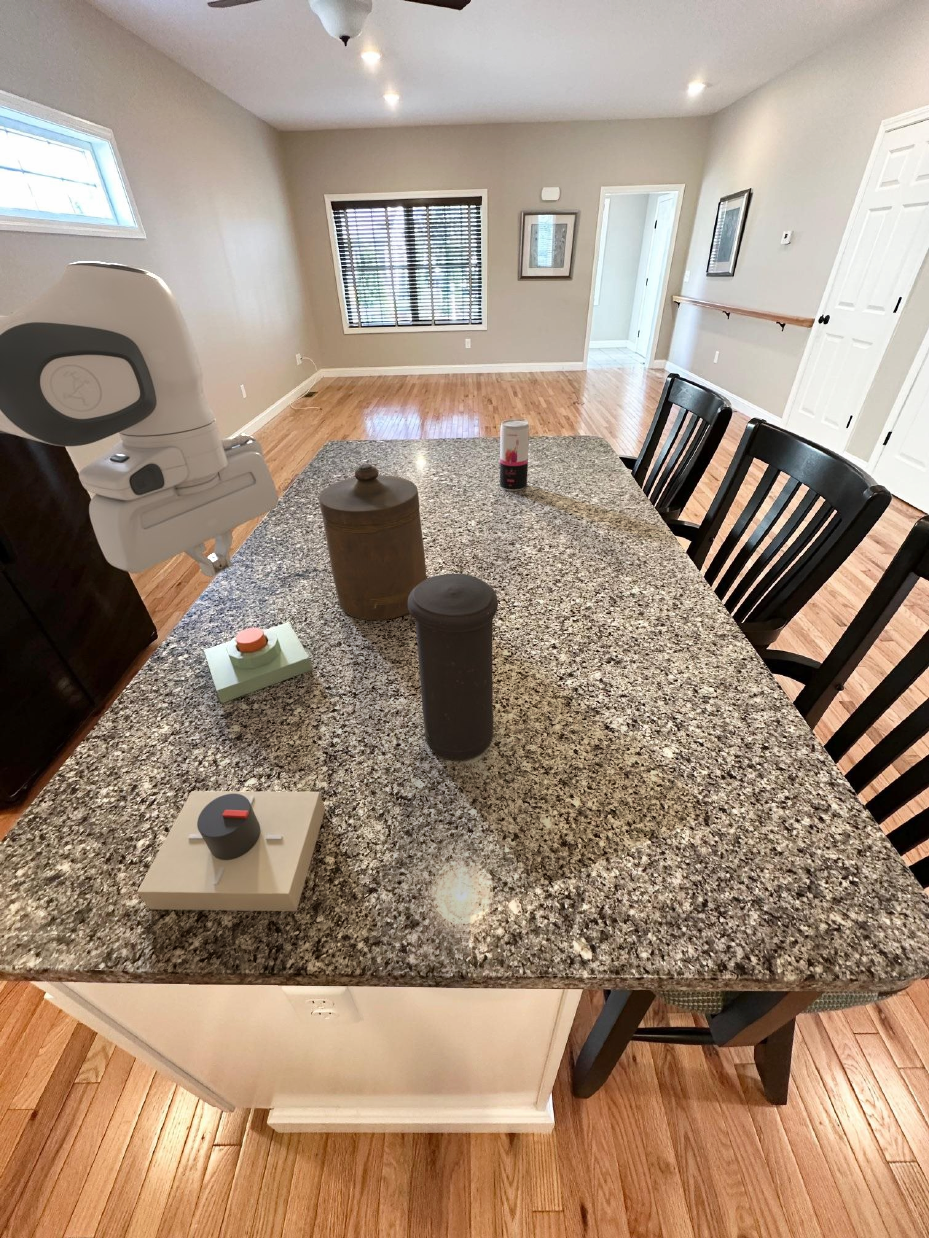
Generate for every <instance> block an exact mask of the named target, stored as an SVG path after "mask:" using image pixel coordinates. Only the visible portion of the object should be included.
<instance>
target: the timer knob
mask: <svg viewBox="0 0 929 1238" xmlns="http://www.w3.org/2000/svg"><path fill="white" fill-rule="evenodd" d="M197 827H198V830H199V832H200V834H201V836H202V837H203V839H204V841H205V843H206V844H207V846H208V848H209V850H210V852H211V853H212V855H213V856H214V857H216V858H218V859H221V860H231V859H235V858H238V857H240V856H242V855H244V854H245V853H247V852H248V851H249V850H250V849H251V848H252V847H253V846H254V845H255V844H256V842H257V840H258V838H259V835H260V825H259V822H258V820H257V818H256V815H255V813H254V811H253V809H252V806H251V804H250V802H249V800H248V799H247V798H246V797H245V796H243V795H241V794H236V793H232V794H226V795H223V796H220V797H218V798H216V799H214V800H213V801H211V802H210V803H209V804H208V805H206V807H205V808H204V809H203V810H202V812H201V813H200V815H199V818H198V822H197Z"/></svg>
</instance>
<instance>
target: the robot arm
mask: <svg viewBox="0 0 929 1238" xmlns="http://www.w3.org/2000/svg"><path fill="white" fill-rule="evenodd" d="M190 332H191V331H190V330H189V327H188V324H187V321H186V319H185V316H184V314H183V311H182V310H181V308H180V305H179V303H178V301H177V299H176V297H175V295H174V293H173V291H172V290H171V288H170V287H169V285H168V284H167V282H165V281H164V280H163V278H160V277H159V276H157V275H156V274H154V273H152V272H151V271H148V270H146V269H142V268H139V267H135V266H130V265H126V264H119V263H113V262H110V263H106V262H101V261H84V260H83V261H75V262H73V263H68V264H67V265H66V266H65V268H64V270H63V273H62V275H61V276H60V277H59V278H58V280H57V281H55V283H53V284H52V285H51V286H50V288H48V289H47V290H46V291H44V292H43V293H42V294H40V295H39V296H37V297H36V298H34V299H33V300H32V301H30V302H28V303H26V304H25V305H24V306H21V307H20V308H18V309H15V310H13V311H11V314H9V315H0V434H4V435H5V434H6V435H14V436H18V437H21V438H25V439H27V440H28V439H29V440H31V441H34V442H35V441H36V442H39V443H42V444H48V445H51V446H56V447H81V446H86V445H90V444H94V443H96V442H98V441H102V440H104V439H106V438H109V437H112V436H113V435H116V434H119V436H120V440H119V441H118V442H116V444H114V445H113V446H112V447H111V448H109V449H108V450H107V451H105V452H104V453H103V454H101V455H100V456H98V457H96V459H94V460H93V461H91V462H90V463H89V464H87V465H86V466H84V467H83V468H82V469H81V470H80V471H79V472H78V479H79V482H80V483H81V485H82V487H83V488H84V489H85V490H86V491H88V492H90V493H93V494H94V495H93V497H92V498H91V499H90V502H89V506H88V513H89V519H90V522H91V525H92V528H93V532H94V534H95V538H96V540H97V544H98V545H99V547H100V549H101V553H102V554H103V556H104V558H105V560H106V562H107V563H109V564H110V565H111V566H112V567H114V568H117V569H119V570H122V571H124V572H127V573H131V574H141V573H142V572H145V571H147V570H149V569H151V568H153V567H155V566H158V565H159V564H162V563H164V562H166V561H168V560H170V559H172V558H175V557H176V556H179V555H181V554H183V553H185V554H186V555H187V556H188V557H190V558H191V559H192V560H194V561H195V562H197V563H198V566H199V569H200V571H201V573H202V574H203V575H204V576H205V577H209V578H212V577H215V576H216V575H218V574H220V573H222V572H223V571H226V570H227V569H229V568H231V567H233V564H232V560H231V557H230V553H231V549H232V548H231V547H232V544H233V540H234V536H233V533H232V530H234V529H235V528H237V527H240V526H242V525H244V524H246V523H248V522H250V521H252V520H254V519H256V518H258V517H261V516H264V515H265V514H267V513H269V512H271V511H273V510H275V509H276V508H277V505H278V502H279V495H278V491H277V487H276V484H275V482H274V479H273V476H272V473H271V471H270V469H269V466H268V463H267V461H266V460H265V456H264V451H263V449H262V448H263V447H262V445H261V443H260V441H259V440H258V439H256V438H255V437H254V436H251V435H249V434H248V433H239V434H236V435H235V436H233V437H227V438H223V439H222V437H221V435H220V431H219V427H218V423H217V420H216V417H215V413H214V411H213V409H212V408H211V407H210V405H209V403H208V401H207V399H206V396H205V393H204V389H203V388H204V387H203V372H202V367H201V363H200V361H199V358H198V354H197V351H196V348H195V344H194V341H193V339H192V336H191V333H190ZM210 540H214V547H213V548H214V549H213V553H212V554H210V555H208V556H207V555H206V554H205V553H204V552H206V551H207V547H206V545H205V543H206V542H208V541H210Z"/></svg>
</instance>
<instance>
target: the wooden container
mask: <svg viewBox="0 0 929 1238" xmlns="http://www.w3.org/2000/svg"><path fill="white" fill-rule="evenodd" d="M379 473H380V472H379V470H378V468H377V467H376V466H374V465H372V464H370V463H363V464H361V465H359V466H358V467H356V468H355V469H354V477H350V478H346V479H343V480H340V481H336V482H334V483H332V484H330V485H328V486H327V487H325V488H324V489H322V491H321V492H320V493H319V496H318V502H319V508H320V512H321V517H322V525H323V530H324V535H325V539H326V540H325V541H326V546H327V552H328V558H329V564H330V569H331V575H332V578H333V583H334V588H335V591H336V596H337V601H338V604H339V607H340V609H341V610H342V611H343V612H344V613H346V614H347V615H349V616H350V617H354V618H356V619H362V620H368V621H384V620H385V621H386V620H391V619H395V618H400V617H402V616H405V615H408V614H411V613H410V611H409V609H408V597H409V595H410V593H411V592H412V590H413V589H414V588H415V587H416V586H417V585H419V584H420V583H421V582H423V581H424V580H426V579H428V578H427V565H426V554H425V547H424V539H423V530H422V529H423V528H422V522H421V521H422V519H421V510H420V497H419V490H418V486H417V485H416V484H415V483H414V482H413V481H411V480H409V479H406V478H403V477H400V476H396V475H386V474H385V475H384V474H383V475H382V474H379Z"/></svg>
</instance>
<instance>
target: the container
mask: <svg viewBox="0 0 929 1238" xmlns="http://www.w3.org/2000/svg"><path fill="white" fill-rule="evenodd" d="M408 609H409V611H410V613H409V614H410V615H411V616H412V618H413V619H414V620H415V621H414V622H415V633H416V643H417V644H416V645H417V656H418V657H417V659H418V671H419V681H420V683H419V684H420V695H421V708H422V720H423V730H424V731H423V732H424V737H425V742H426V744H427V746H428V748H429V749H430V751H432V752H433V753H434V754H435V755H436V756H438V757H440V758H443V759H446V760H450V761H457V762H458V761H459V762H460V761H467V760H471V759H475V758H477V757H478V756H480V755H482V754H483V753H484V752H485V751H486V750H487V749H488V748H489V747H490V746H491V743H492V740H493V738H494V737H493V736H494V699H493V698H494V695H493V694H494V693H493V692H494V689H493V637H494V636H493V631H494V630H493V628H494V625H493V624H494V623H493V621H494V617H495V616H496V614H497V612H498V609H499V600H498V595H497V593H496V591H495V590H494V588H493V587H492V586H491V585H490V584H489V583H487V582H486V581H485V580H483V579H481V578H478V577H476V576H473V575H471V574H466V573H443V574H439V575H438V574H437V575H434V576H432V577H429V578H427V579H426V580H424V581H423V582H421V583H420V584H419V585H417V586H416V587H415V588H414V589H413V590H412V592H411V593H410V595H409V597H408Z"/></svg>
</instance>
